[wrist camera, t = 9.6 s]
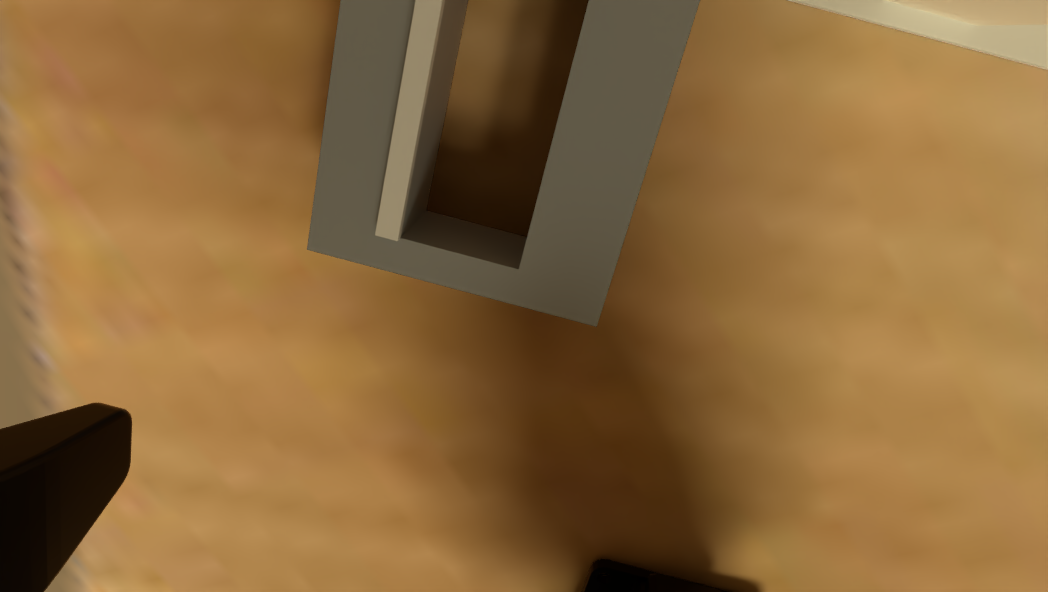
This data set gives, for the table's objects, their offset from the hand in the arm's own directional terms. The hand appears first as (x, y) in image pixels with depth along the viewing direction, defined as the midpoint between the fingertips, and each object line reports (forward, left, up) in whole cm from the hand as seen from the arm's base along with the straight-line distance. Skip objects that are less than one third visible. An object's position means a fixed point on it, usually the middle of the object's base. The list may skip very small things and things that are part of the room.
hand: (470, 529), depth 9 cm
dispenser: (+4, +2, -13) cm, 14 cm away
